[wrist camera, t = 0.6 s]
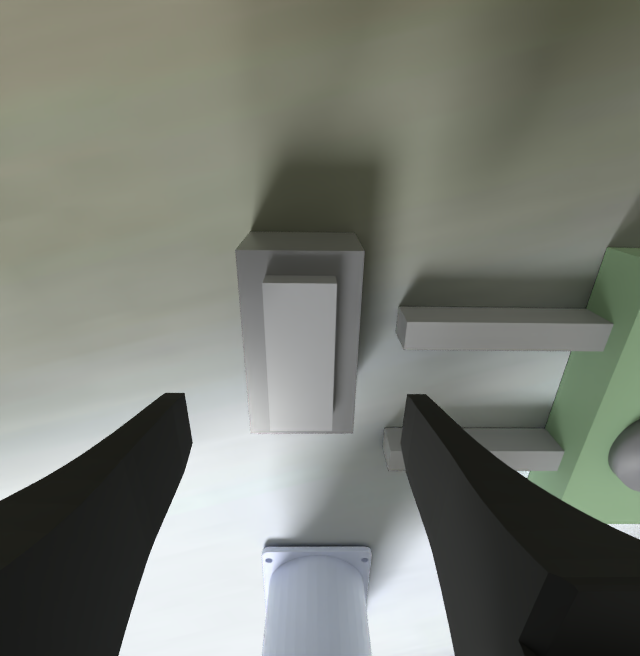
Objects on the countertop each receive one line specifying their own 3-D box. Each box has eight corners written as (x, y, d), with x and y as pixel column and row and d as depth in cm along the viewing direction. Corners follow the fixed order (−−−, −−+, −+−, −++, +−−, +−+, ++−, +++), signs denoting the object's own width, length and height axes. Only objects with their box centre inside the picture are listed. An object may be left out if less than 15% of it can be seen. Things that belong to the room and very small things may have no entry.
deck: (641, 484, 25) (693, 536, 22) (378, 483, 25) (388, 536, 21) (764, 249, 19) (868, 271, 15) (405, 244, 18) (427, 265, 15)
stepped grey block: (354, 231, 18) (368, 257, 14) (346, 387, 22) (354, 448, 17) (250, 230, 18) (230, 256, 13) (260, 387, 22) (247, 448, 17)
